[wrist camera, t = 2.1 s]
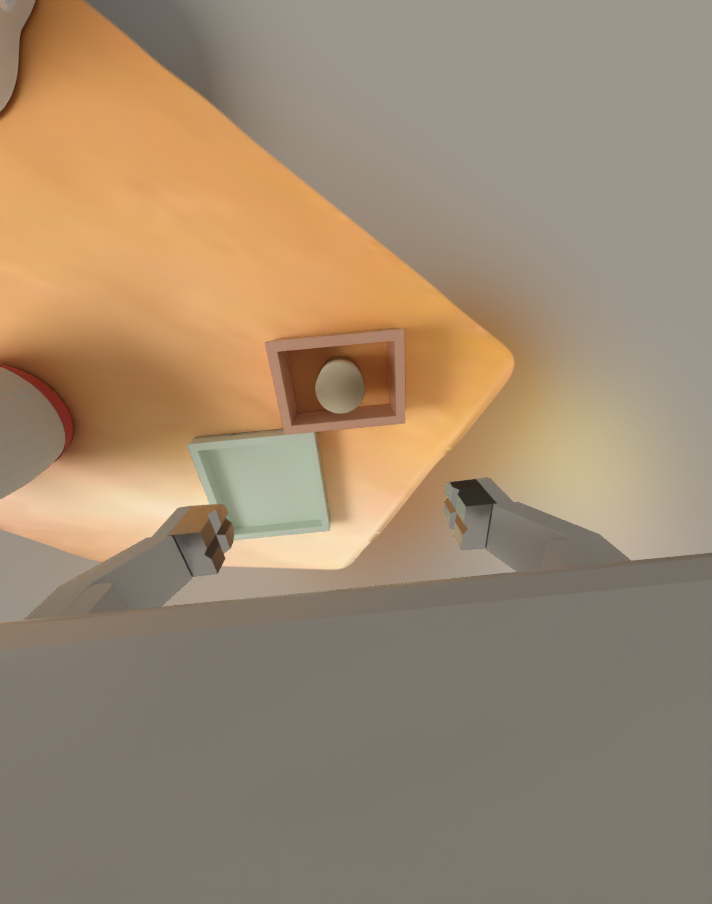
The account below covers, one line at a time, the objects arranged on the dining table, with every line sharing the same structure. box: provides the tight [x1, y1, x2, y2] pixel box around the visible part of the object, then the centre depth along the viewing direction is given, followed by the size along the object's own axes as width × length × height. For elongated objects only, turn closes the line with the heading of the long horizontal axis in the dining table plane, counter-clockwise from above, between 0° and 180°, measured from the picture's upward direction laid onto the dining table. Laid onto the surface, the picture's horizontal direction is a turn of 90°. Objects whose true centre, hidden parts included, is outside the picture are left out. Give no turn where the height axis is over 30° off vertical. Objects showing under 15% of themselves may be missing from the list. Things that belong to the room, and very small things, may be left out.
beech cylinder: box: [315, 356, 365, 414], centre depth 31 cm, size 5×5×7 cm
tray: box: [187, 429, 330, 540], centre depth 39 cm, size 16×16×2 cm
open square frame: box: [265, 328, 405, 435], centre depth 32 cm, size 10×14×5 cm
